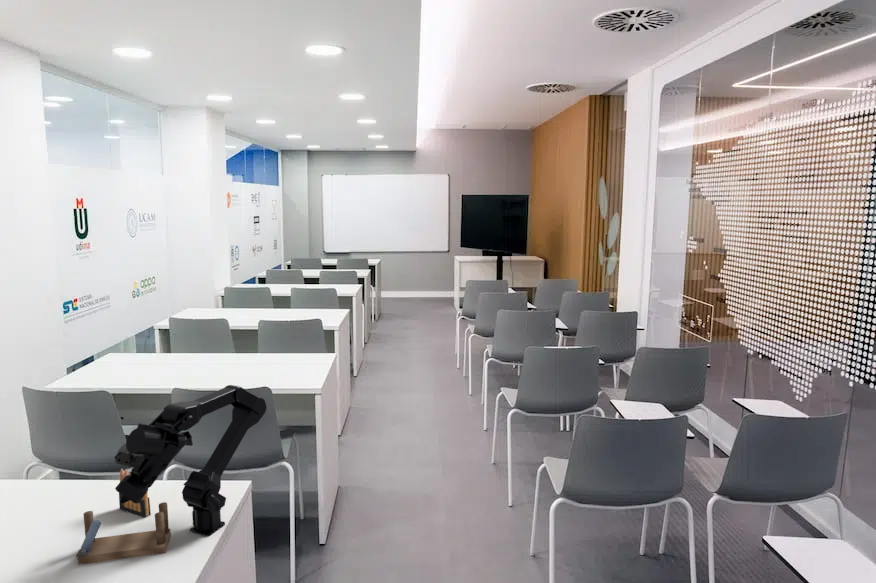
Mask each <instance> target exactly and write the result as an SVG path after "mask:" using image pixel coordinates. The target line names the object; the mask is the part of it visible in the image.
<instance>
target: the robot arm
mask: <svg viewBox="0 0 876 583" xmlns="http://www.w3.org/2000/svg"><path fill="white" fill-rule="evenodd" d="M229 405H230V406H231V407H232V410H231V422H230V423H229V425H228V427H227V428H226V430H225V432H224V434H223V435H222V437H221V438H220V441H219V442H218V444H217V445H216V447H215V449H214V451H213V452H212V454H211V455H210V457H209V459H208V460H207V462H206V464H205V466H204V467H203V468H202V469H201V470H199V471H195V470H192V472H191V473H190V475H189V476H188V479H187V480H186V481H185V482H184V483H183V489H182V492H181V494H182V499H183V502H185V503H186V505H187V507H191V508H192V511H191V514H192V516H191V517H192V526H193V527H191V528H190V529H189V532H190V533H193V534H199V535H203V536H207V537H209V536H211V535H213V534H214V533H215V532H217V531H218V530H220V529H221V528H222V527H223V526H225V525H226V521H222V518H221V510H222V508H223V507H225V505H226V500H227V497H225V496H224V495H223V494H220V493H219V492H220V490H221V487H222V486H221V484H222V483H221V479H222V475H223V473H224V471H225V470H226V468H227V466H228V465H229V463H230V462H231V459H232V458H233V456H234V454H235V452H236V451H237V449H238V447H239V446H240V444H241V442H242V441H243V439H244V437H245V435H246V433H247V432H248V431H249V429H250V428H252V427H253V426H255V425H256V424H258V423H259V422H260V420H261V419H262V418H263V416H264V415H265V414H266V411H267V404H266V401H265V399H264V398H263V397H258V396H256V395H254V394H252V393H251V392H249V391H247V390H246V389H245V388H243V387H242V386H237V385H234V384H233V385H232V384H229V385H225V387H223V388H220V389H219V390H216V391H214V392H211V393H209V394H207V395H204V396H202V397H199V398H197V399H196V398H195V399H194V400H190V401H179V402H173V403H169V404H167V405H166V406H165V407H164V408H163V411H162V412H160V413H159V415H158V416H156V418H154V419H153V420H152V421H151V422H150V423H149V424H146V423H138V424H137V427H136V428H135V429H133V430H132V431H131V432H130V433H129V434H128V436H127V437H126V442H125V443H124V444H123V445H121V447H120V448H118V450H117V453H116V455H115V456H114V463H115V464H117V465H121V466H124V467H131V469H130V471H131V472H130V471H129V472H130V474H131V475H129V474H128V475H127V476H125V478H124V479H123V480H122V481H121V482H120V481H119V483H118V484H117V485H116V487H114V489H115V491H116V492H118V494H119V493H120V494H122V497H121V499H120V502H121V503H122V504H123V503H125V502H128V501H130V500H131V501H132V502H134V503H137V504H138V503H139V501H140V500H141V499H142V498H143V497H144V495H145V494H146V493H147V492H148V491H149V488H151V487H152V486H153V484H154V483H155V482H156V481H157V479H158V478H159V477H160V476H161V475H162V474H163V473H164V472H165V470H166V469H168V466H169V465H170V464H171V463H172V462H173V460H174V459H175V458H176V456H177V455H178V454H179V453H180V452H181V451H182V449H183V448H184V447H185V446H189V447H191V446H193V445H194V443H193V440H192V438H193V436H192V435H191V433H190V431H188V430H190V429H191V428H193V427H194V426H196V425H198V424H199V422H200V421H201V419H202V418H203V417H205V416H206V415H208V414H209V415H210V414H212V413H213V412H215V411H218V410H220V409H222V408H224V407H226V406H229Z"/></svg>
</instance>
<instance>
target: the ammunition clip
mask: <svg viewBox="0 0 876 583" xmlns="http://www.w3.org/2000/svg"><path fill="white" fill-rule="evenodd" d="M131 471H132V470H129V471H128V470H127V469H125V470H124V469H123V468H121V469H120V471H119V472H120V473H119V483H120V482H121V481H122V480H123V479H124V478H125V476H127V475H131V474H130V472H131ZM148 495H149V493H148V492H147V493H146V494H145V495H144V497H143V498H142V499H141V500H140V501H139V503H138V504H137V503H134V502H132V501H131V500H130V501H128V502H125V503H123V504H122V503H121V502H120V499H121V497H122V494H120V493H119V492H118V504H119V510H121V511H123V512H126V513H130V514H133V515H136V516H138V517H141V518H144V519H145V518H147V517H149V516H151V514H152V513H151V504H150V503H151V502H150V497H149V496H148Z"/></svg>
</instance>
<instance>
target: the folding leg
mask: <svg viewBox="0 0 876 583" xmlns="http://www.w3.org/2000/svg"><path fill="white" fill-rule="evenodd" d="M101 525H102V521H101V520H100V519H99V520H98V519H93V521H92V524H91V526H90V528H89V530H88V533H87V535H86V537H85V538H84V540H83V542H82V544H81V547H80V549H81V550H82V553H83V554H84V553H85V552H86V551H89V550H90V548H91V546H92V543H93V541H94V539H95V538H97V537H96V536H97V535H98V532H99V530H100V527H101Z"/></svg>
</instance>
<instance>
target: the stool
mask: <svg viewBox="0 0 876 583" xmlns="http://www.w3.org/2000/svg"><path fill="white" fill-rule="evenodd" d="M168 510H169V509H168V502H166V501H165V502H164V501H163V502H160V503H158V512H156V513H154V522H155V530H150V531H140V532H139V531H138V532H133V533H126V534H118V535H117V534H116V535H110V536H102V537H95V539H94V541H93V543H92V546H91V548H90V550H89V551H86V552H85V553H84V554H83V553H82V550H81V548H79V549H78V550H77V553H76V554H75V557H76V559H77V565H78V566H80V565H87V564H93V563H94V564H95V563H102V562H106V561H107V562H108V561H115V560H116V561H117V560H124V559H129V558H130V559H131V558H138V557H144V556H145V557H146V556H151V555H159V554H165V553H166V552H167V549H168V546H169V543H170V540H171V535H172V533H171V528H170V525H169V513H168V512H169V511H168ZM93 520H94V511H93V510H89V511H85V512H84V513H83V524H84V534H85V535H84V536H85V537H86V535H87V533H88V530H89V528H90V526H91V524H92V521H93Z"/></svg>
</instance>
